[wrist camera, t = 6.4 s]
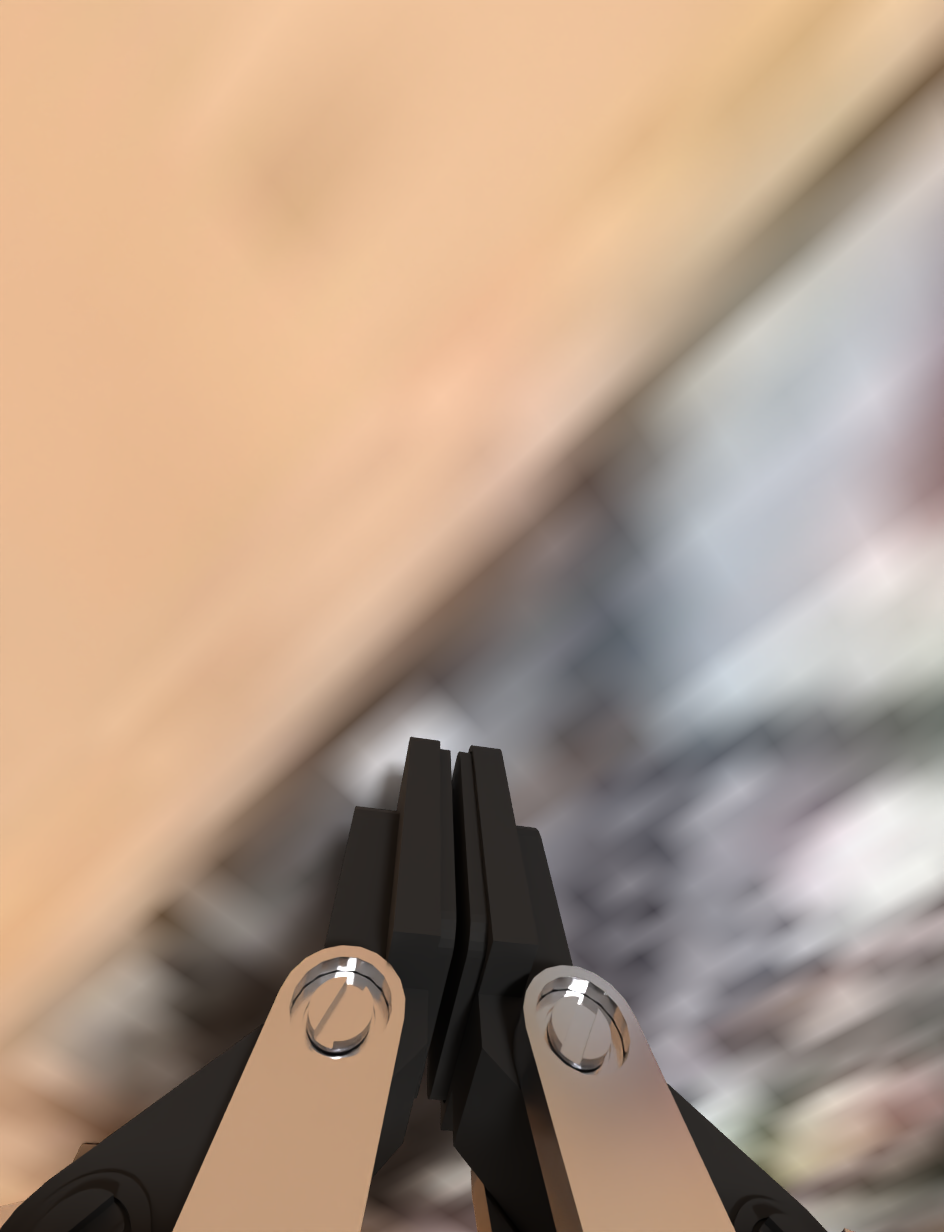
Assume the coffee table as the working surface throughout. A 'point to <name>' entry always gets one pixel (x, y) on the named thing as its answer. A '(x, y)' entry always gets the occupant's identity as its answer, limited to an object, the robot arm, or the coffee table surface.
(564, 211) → the coffee table surface
